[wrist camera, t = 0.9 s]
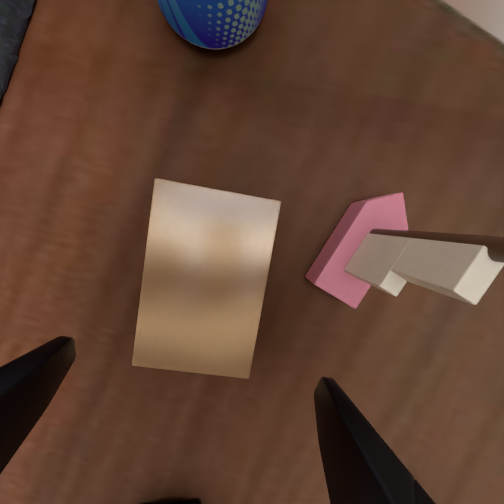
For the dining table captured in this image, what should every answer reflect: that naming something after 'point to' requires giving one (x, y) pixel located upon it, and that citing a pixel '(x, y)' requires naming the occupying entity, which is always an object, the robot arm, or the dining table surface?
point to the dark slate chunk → (11, 35)
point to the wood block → (203, 279)
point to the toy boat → (402, 256)
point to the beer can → (213, 20)
